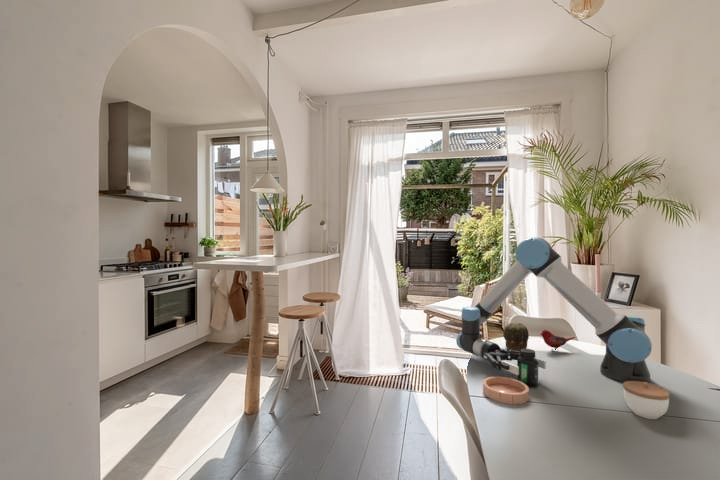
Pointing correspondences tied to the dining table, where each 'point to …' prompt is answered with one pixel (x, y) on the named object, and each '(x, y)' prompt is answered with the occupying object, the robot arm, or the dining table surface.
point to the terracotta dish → (506, 390)
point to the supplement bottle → (528, 368)
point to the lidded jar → (646, 399)
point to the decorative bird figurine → (554, 339)
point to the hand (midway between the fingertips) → (532, 368)
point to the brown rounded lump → (516, 336)
